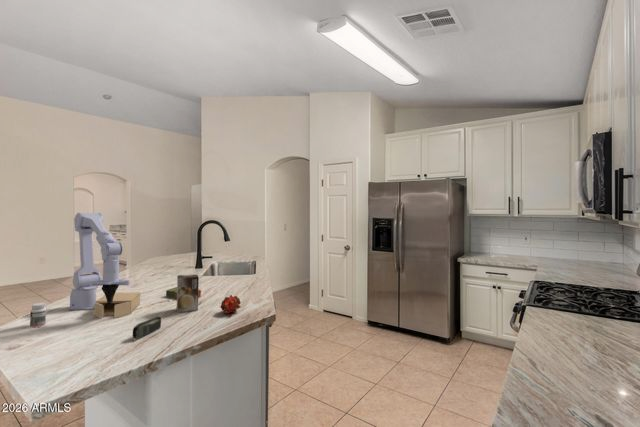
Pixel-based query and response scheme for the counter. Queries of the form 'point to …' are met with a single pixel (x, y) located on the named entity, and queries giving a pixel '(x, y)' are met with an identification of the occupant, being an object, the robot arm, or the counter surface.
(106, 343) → the counter surface
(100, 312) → the left flap
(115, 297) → the cardboard box
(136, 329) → the mobile phone
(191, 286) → the coffee box
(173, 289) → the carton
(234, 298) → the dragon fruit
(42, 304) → the pill bottle
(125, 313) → the right flap
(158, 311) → the counter surface
